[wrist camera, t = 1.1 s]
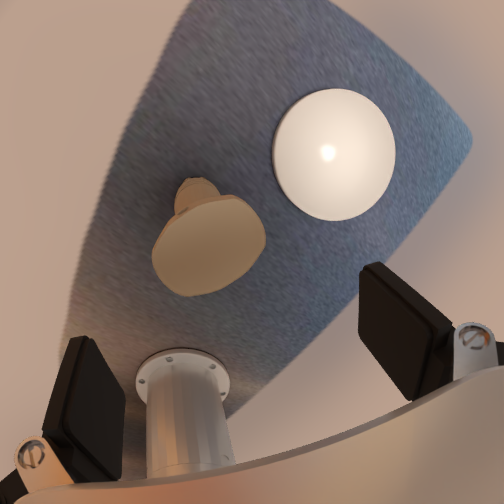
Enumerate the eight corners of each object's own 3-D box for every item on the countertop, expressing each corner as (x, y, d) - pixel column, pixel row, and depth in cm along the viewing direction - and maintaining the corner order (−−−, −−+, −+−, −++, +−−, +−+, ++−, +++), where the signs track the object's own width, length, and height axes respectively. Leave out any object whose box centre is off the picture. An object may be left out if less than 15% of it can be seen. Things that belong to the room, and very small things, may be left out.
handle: (235, 192, 32) (279, 251, 18) (182, 228, 32) (187, 310, 19) (209, 152, 30) (235, 180, 16) (154, 190, 30) (135, 249, 16)
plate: (390, 204, 36) (397, 207, 35) (281, 229, 34) (286, 233, 33) (381, 87, 30) (388, 87, 29) (261, 96, 29) (265, 95, 27)
